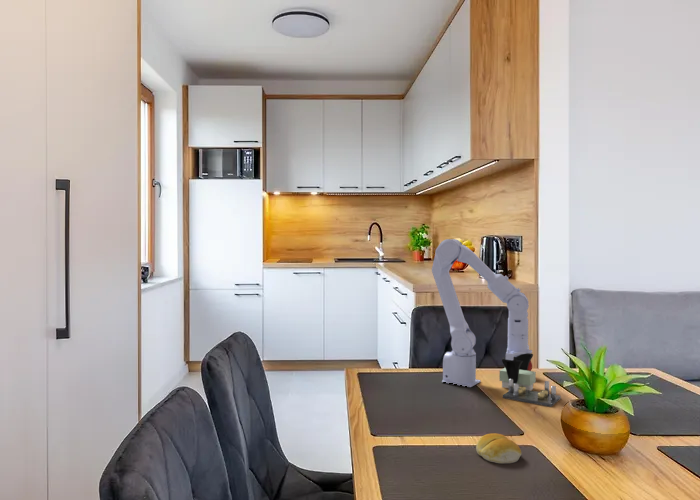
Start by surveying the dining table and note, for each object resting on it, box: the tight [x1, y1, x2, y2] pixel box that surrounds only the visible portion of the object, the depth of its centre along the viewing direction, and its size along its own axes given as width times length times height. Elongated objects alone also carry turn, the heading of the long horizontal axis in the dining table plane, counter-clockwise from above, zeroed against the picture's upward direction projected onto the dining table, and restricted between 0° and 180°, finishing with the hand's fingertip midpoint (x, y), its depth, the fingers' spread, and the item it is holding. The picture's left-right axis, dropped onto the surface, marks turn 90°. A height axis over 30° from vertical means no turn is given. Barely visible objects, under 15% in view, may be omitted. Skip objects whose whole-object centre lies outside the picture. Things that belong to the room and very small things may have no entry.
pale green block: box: [498, 367, 537, 386], centre depth 153 cm, size 9×5×3 cm, turn 53°
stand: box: [501, 381, 534, 391], centre depth 153 cm, size 8×3×2 cm, turn 53°
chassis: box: [502, 379, 562, 408], centre depth 143 cm, size 13×9×4 cm
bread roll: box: [475, 432, 522, 464], centre depth 106 cm, size 8×9×4 cm
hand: (517, 380), depth 153 cm, fingers open, 7 cm apart
